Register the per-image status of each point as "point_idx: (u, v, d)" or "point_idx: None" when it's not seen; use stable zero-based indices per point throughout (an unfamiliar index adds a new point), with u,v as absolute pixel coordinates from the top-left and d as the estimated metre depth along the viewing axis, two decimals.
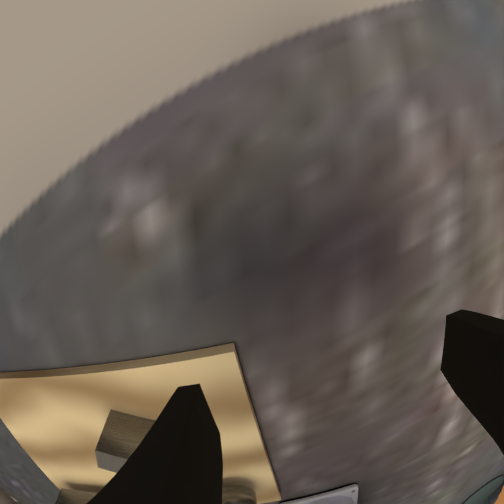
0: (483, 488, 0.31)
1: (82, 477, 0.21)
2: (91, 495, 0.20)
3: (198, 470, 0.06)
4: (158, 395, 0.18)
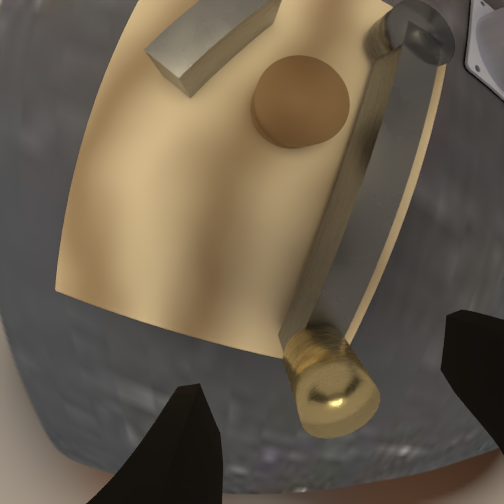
0: None
1: (276, 270, 0.17)
2: (306, 271, 0.16)
3: (199, 470, 0.06)
4: (176, 10, 0.13)
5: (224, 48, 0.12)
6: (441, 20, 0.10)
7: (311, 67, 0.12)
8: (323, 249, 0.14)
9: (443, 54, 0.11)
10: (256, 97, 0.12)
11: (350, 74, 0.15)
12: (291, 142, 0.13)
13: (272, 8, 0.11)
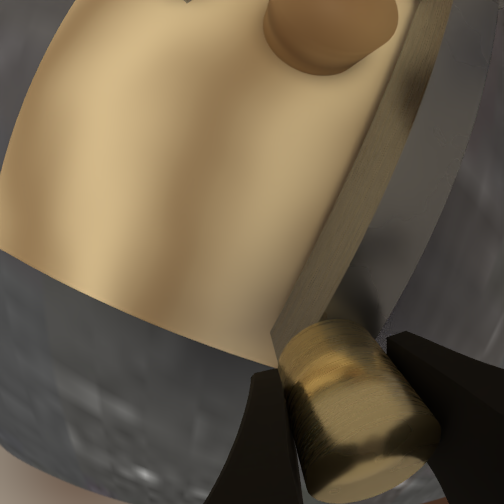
0: None
1: (276, 239, 0.12)
2: (322, 240, 0.11)
3: (292, 455, 0.06)
4: None
5: None
6: None
7: None
8: (352, 205, 0.09)
9: None
10: None
11: None
12: (319, 43, 0.08)
13: None
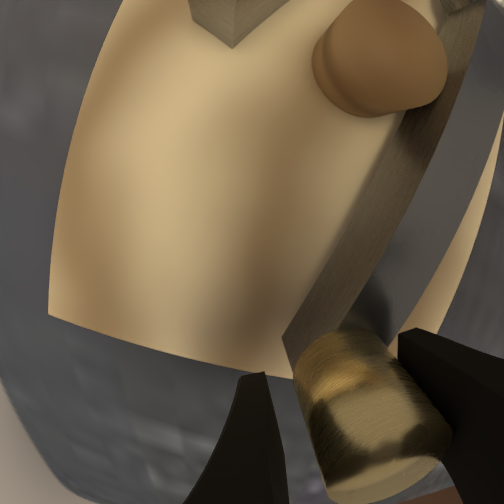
0: None
1: None
2: (339, 250, 0.11)
3: (277, 458, 0.06)
4: None
5: None
6: None
7: (400, 11, 0.07)
8: (373, 218, 0.09)
9: None
10: (338, 38, 0.07)
11: None
12: (387, 101, 0.08)
13: None
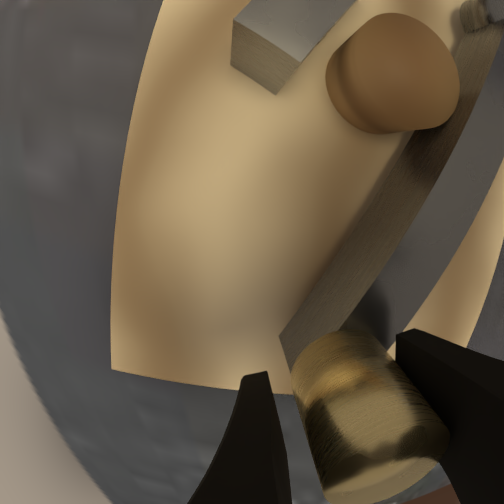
0: None
1: None
2: (344, 252, 0.11)
3: (280, 458, 0.06)
4: None
5: (333, 25, 0.08)
6: None
7: (411, 28, 0.07)
8: (381, 223, 0.09)
9: None
10: (357, 65, 0.08)
11: None
12: (407, 125, 0.08)
13: None
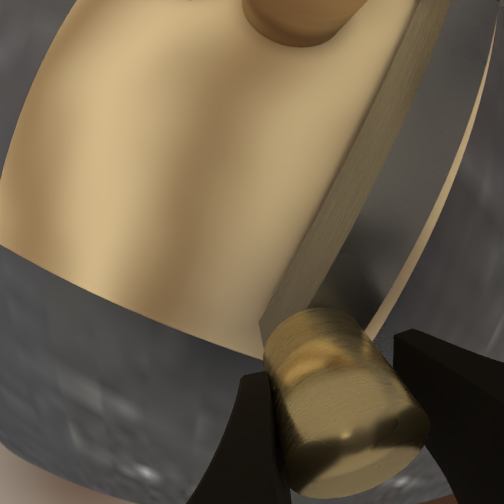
0: None
1: (279, 235, 0.12)
2: (313, 229, 0.10)
3: (279, 458, 0.06)
4: None
5: None
6: None
7: None
8: (345, 193, 0.09)
9: None
10: None
11: (393, 6, 0.10)
12: (290, 9, 0.07)
13: None
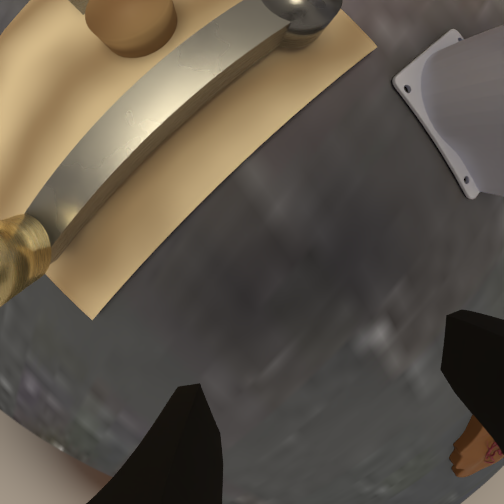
0: None
1: None
2: None
3: (199, 469, 0.06)
4: None
5: None
6: None
7: None
8: None
9: (309, 15, 0.10)
10: None
11: None
12: (94, 33, 0.10)
13: None
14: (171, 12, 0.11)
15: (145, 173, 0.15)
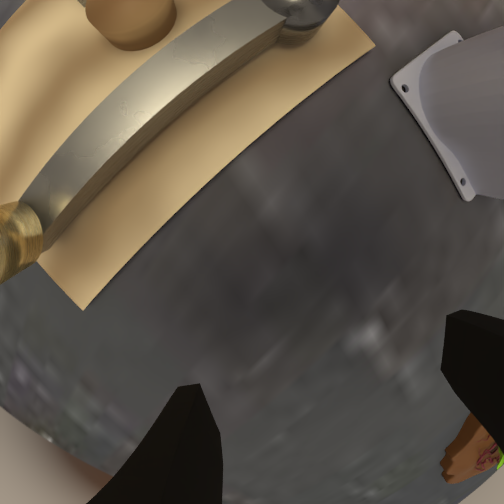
0: None
1: None
2: None
3: (198, 470, 0.06)
4: None
5: None
6: None
7: None
8: None
9: (305, 11, 0.10)
10: None
11: None
12: (93, 25, 0.10)
13: None
14: (170, 6, 0.11)
15: (139, 165, 0.15)
